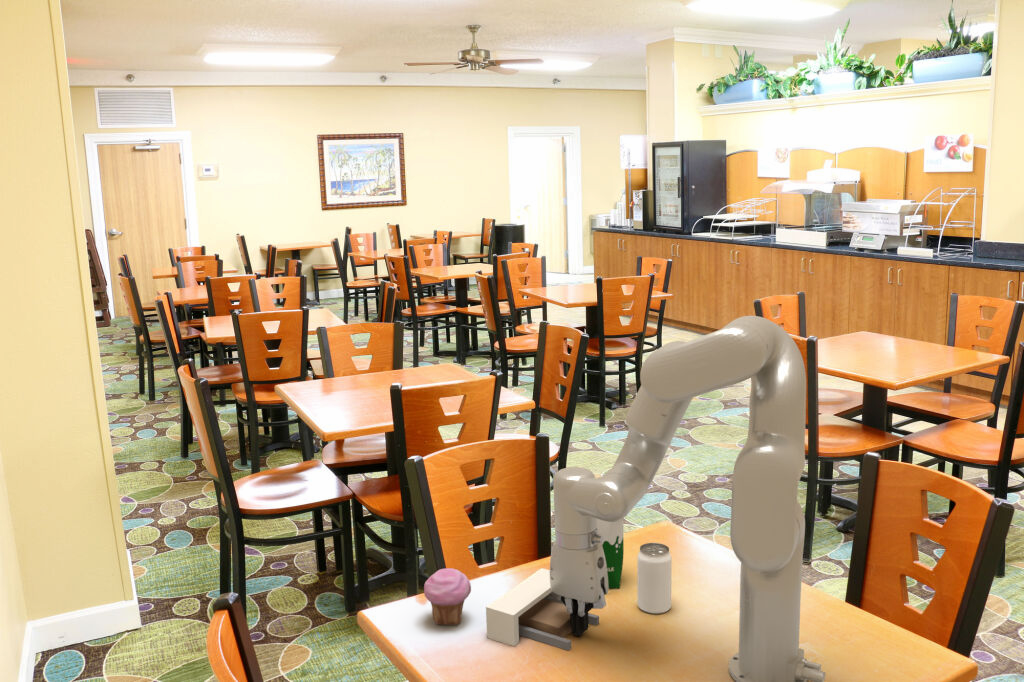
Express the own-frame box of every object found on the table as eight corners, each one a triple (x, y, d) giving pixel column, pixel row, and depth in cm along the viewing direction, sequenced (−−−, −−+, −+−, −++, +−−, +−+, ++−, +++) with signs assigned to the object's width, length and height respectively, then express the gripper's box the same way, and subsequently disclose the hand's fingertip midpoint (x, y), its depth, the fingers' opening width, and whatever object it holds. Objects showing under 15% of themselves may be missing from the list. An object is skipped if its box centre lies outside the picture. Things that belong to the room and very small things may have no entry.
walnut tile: (581, 624, 162) (581, 609, 162) (559, 643, 156) (559, 627, 155) (531, 609, 169) (531, 595, 168) (508, 627, 162) (508, 612, 162)
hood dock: (608, 615, 165) (608, 585, 164) (557, 660, 150) (556, 628, 149) (542, 596, 173) (541, 568, 172) (487, 637, 158) (485, 607, 157)
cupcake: (422, 632, 161) (420, 581, 159) (428, 609, 169) (426, 561, 167) (470, 631, 160) (468, 581, 159) (473, 609, 169) (472, 561, 167)
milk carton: (580, 589, 176) (579, 496, 172) (581, 570, 185) (580, 480, 181) (624, 590, 175) (623, 496, 171) (623, 571, 184) (623, 481, 180)
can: (670, 616, 164) (671, 556, 162) (636, 613, 166) (636, 554, 163) (671, 600, 170) (672, 542, 168) (638, 597, 172) (638, 540, 170)
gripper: (623, 537, 154) (625, 633, 157) (551, 522, 162) (555, 614, 165) (603, 552, 148) (606, 652, 151) (530, 536, 156) (534, 631, 159)
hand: (579, 632), depth 158 cm, fingers closed
